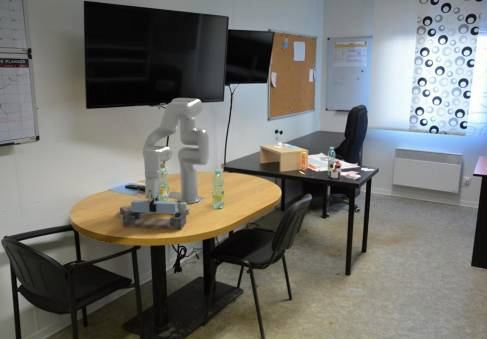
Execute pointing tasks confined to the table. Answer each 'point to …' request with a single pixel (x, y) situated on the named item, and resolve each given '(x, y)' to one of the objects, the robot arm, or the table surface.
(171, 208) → the slat
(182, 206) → the grey long bar
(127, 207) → the grey brown block
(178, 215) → the cradle
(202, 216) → the table surface
